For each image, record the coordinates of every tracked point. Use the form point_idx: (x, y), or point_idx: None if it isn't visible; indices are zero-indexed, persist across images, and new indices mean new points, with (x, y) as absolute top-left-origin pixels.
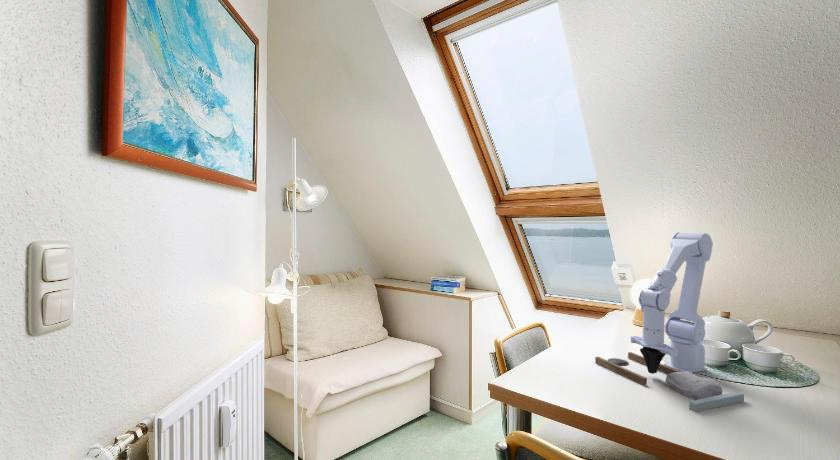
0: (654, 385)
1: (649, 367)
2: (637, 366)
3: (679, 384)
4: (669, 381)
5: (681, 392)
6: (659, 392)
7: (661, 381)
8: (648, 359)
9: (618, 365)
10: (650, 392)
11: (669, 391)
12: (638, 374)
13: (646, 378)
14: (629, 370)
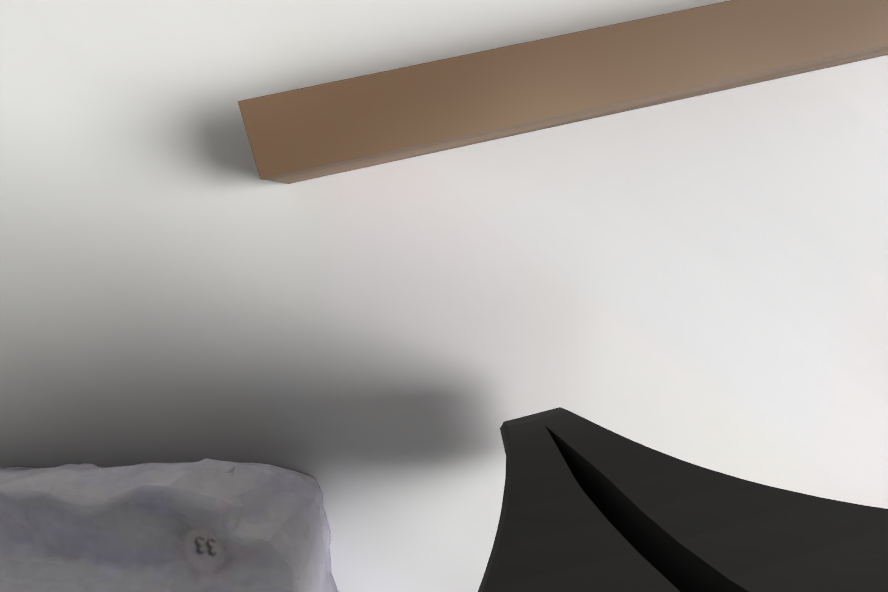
0: (265, 279)
1: (552, 443)
2: (846, 455)
3: (3, 533)
4: (142, 468)
5: (11, 467)
6: (21, 186)
7: (385, 450)
8: (644, 532)
9: (855, 47)
10: (12, 46)
11: (64, 347)
12: (426, 133)
13: (262, 170)
14: (617, 93)
